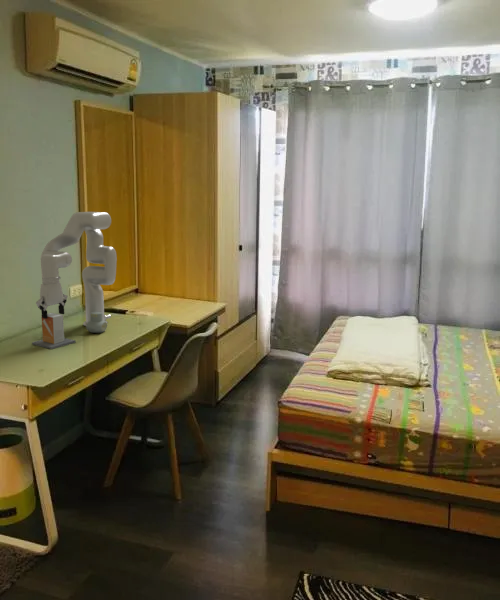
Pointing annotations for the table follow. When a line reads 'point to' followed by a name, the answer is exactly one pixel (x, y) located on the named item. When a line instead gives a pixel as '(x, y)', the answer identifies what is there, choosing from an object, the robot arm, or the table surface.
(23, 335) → the table surface
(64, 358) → the table surface
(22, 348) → the table surface
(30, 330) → the table surface
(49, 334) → the small box
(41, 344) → the rest mat
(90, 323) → the air freshener
